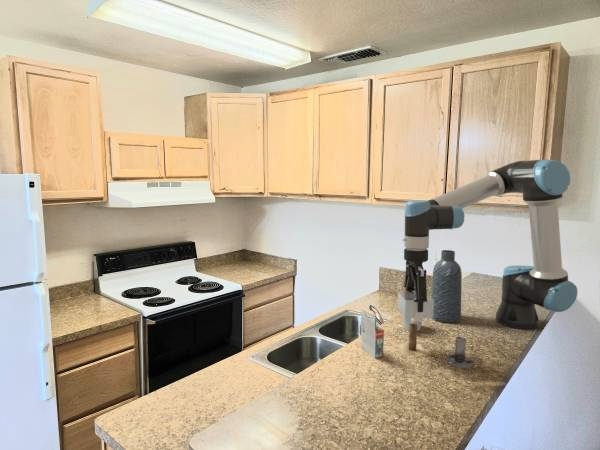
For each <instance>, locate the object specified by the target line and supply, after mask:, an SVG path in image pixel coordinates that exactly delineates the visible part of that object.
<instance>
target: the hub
mask: <svg viewBox="0 0 600 450" xmlns="http://www.w3.org/2000/svg"><path fill="white" fill-rule="evenodd" d="M454 344H455V345H454V354H449V355H447V357H446V362H447V363H448V364H449V366H452V367H455V368H458V369H459V368H460V369H469V368H472V367H473V366H474V361H473V360H472V359H471V358H469V357H467V356H466V351H467V350H466V349H467V339H466V338H465V337H462V336H456V337H455V342H454Z"/></svg>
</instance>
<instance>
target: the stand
mask: <svg viewBox="0 0 600 450" xmlns="http://www.w3.org/2000/svg"><path fill="white" fill-rule="evenodd" d="M408 332H409V333H408V343H397V346H398V347H399V349H400V352H401V353H402V354H403V356H429V354H428V352H427V351H426V349H425V348H424V346H422V344H421V343H417V339H418V337H417V336H418V331H417V324H413V323H412V324H410V327H409V330H408Z"/></svg>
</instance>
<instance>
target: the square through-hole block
mask: <svg viewBox="0 0 600 450" xmlns="http://www.w3.org/2000/svg"><path fill="white" fill-rule="evenodd" d="M414 300H416V295H415V291H412V292H407V291H397V310H398V311H399V312H400V314H401V316H402V315H403V316H404V318H405V319H406V318H414V313H415V302H414ZM433 310H434V300H433V299H432V298H431V295H429V294H428V293H427V302H424V319H432V318H433Z"/></svg>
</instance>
